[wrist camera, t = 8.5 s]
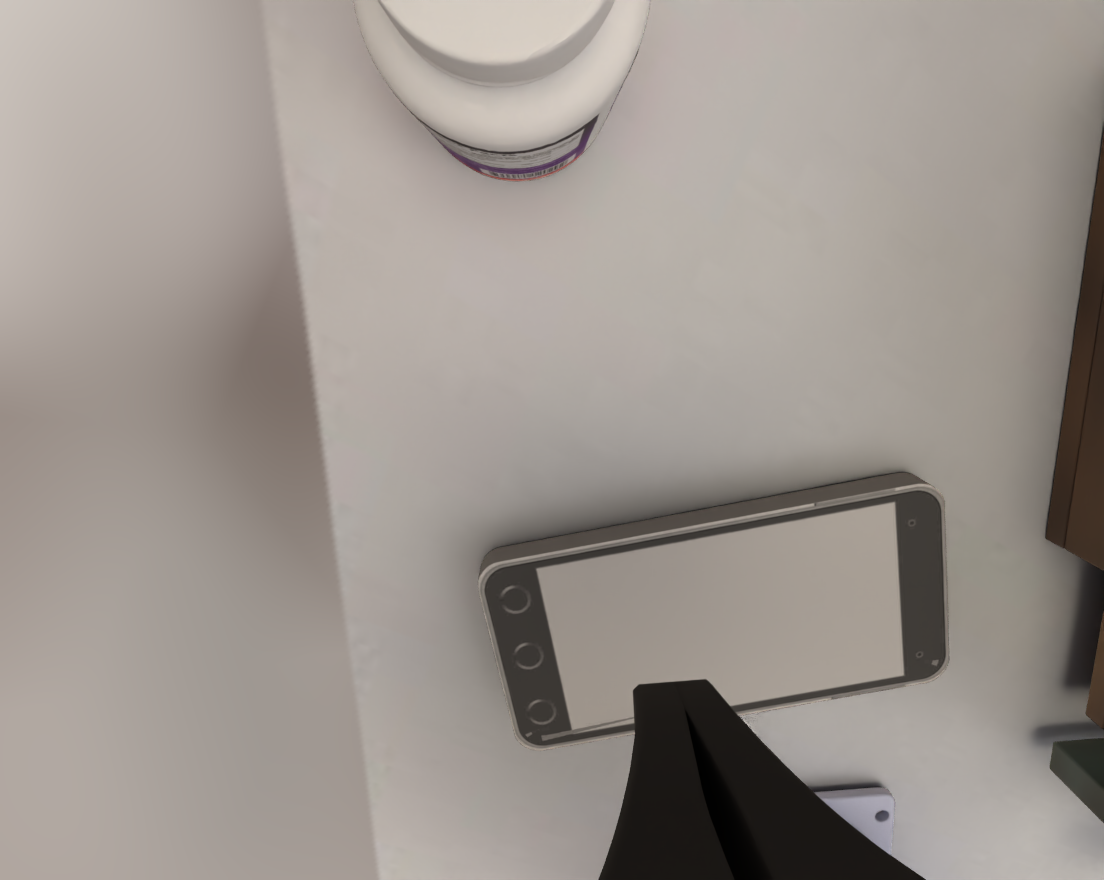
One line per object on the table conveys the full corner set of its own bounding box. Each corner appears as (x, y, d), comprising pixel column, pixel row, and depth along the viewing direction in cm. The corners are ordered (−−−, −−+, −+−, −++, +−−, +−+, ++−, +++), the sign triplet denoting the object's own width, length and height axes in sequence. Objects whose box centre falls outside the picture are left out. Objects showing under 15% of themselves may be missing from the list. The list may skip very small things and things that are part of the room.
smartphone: (472, 566, 21) (944, 478, 20) (475, 551, 22) (924, 467, 21) (519, 754, 23) (949, 678, 22) (520, 733, 24) (932, 660, 23)
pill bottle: (487, -79, 17) (426, -477, 8) (651, 54, 18) (772, -160, 9) (381, 107, 18) (217, -45, 9) (540, 223, 19) (541, 195, 10)
